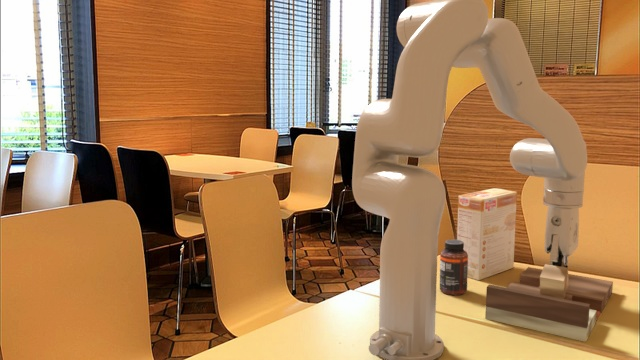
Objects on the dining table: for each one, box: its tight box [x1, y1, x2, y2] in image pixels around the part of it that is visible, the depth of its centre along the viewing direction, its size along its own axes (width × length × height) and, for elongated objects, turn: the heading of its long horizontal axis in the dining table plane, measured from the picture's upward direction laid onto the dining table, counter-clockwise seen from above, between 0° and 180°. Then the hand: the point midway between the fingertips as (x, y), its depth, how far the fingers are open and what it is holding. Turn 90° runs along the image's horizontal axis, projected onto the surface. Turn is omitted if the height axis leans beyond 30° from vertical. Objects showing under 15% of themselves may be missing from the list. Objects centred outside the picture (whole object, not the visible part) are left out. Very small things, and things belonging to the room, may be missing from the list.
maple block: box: [540, 263, 569, 299], centre depth 116 cm, size 4×4×4 cm
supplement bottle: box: [439, 239, 468, 296], centre depth 125 cm, size 6×6×11 cm
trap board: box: [484, 266, 614, 343], centre depth 117 cm, size 30×18×6 cm, turn 145°
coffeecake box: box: [456, 187, 518, 281], centre depth 138 cm, size 15×7×20 cm, turn 130°
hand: (557, 283), depth 119 cm, fingers closed
